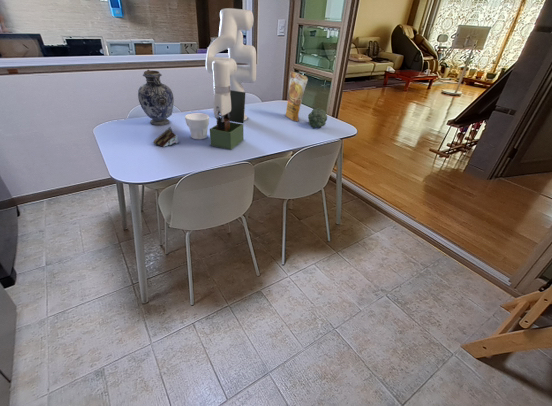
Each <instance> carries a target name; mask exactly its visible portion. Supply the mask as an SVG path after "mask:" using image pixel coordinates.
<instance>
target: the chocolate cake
mask: <svg viewBox="0 0 552 406" xmlns="http://www.w3.org/2000/svg"><path fill="white" fill-rule="evenodd" d="M179 141H180V140H179V137H178V135H177V134H176V133H175V132H174V131H173V129H172V127H171V126H169V127H168V128H167V129H165V130H164V131H163V132H162V133H161V134H160V135H158V136H157V137H156V138H155V139H153V143H152V144H153V145H155V146H157V145H158V146H161V147H163V148H164V147H167V146H170V147H172V146H173V144H176V145H177V144H178V143H179Z"/></svg>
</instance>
